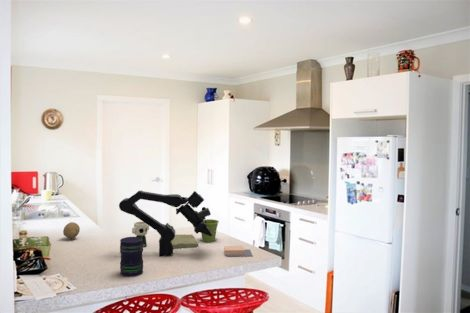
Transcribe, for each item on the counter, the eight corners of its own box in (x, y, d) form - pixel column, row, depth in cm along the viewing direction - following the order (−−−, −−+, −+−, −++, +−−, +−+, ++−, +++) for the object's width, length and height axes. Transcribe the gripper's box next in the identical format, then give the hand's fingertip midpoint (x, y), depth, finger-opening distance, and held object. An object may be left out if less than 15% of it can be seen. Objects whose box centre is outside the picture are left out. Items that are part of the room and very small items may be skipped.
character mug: (136, 249, 211) (136, 225, 211) (128, 247, 216) (128, 223, 215) (152, 245, 219) (152, 222, 219) (145, 243, 224) (145, 220, 223)
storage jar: (120, 277, 169) (119, 243, 168) (120, 270, 178) (119, 237, 178) (144, 275, 172) (144, 241, 171) (142, 268, 181) (142, 236, 180)
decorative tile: (192, 239, 236) (193, 233, 236) (198, 248, 216) (198, 242, 216) (161, 241, 231) (161, 235, 231) (164, 250, 211) (164, 244, 211)
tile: (225, 250, 201) (244, 250, 202) (224, 246, 209) (243, 245, 210) (225, 255, 201) (244, 254, 202) (224, 250, 209) (243, 250, 210)
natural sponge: (79, 240, 228) (79, 223, 228) (62, 242, 225) (62, 224, 224) (79, 237, 237) (79, 220, 236) (63, 238, 233) (63, 221, 233)
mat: (227, 256, 200) (227, 256, 200) (225, 250, 210) (225, 249, 210) (252, 256, 201) (252, 255, 201) (250, 250, 212) (250, 249, 212)
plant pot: (194, 240, 231) (194, 221, 231) (210, 237, 239) (210, 218, 238) (206, 244, 222) (206, 224, 222) (222, 241, 230) (223, 221, 230)
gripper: (201, 206, 193) (223, 228, 195) (201, 200, 212) (221, 220, 213) (184, 222, 193) (207, 244, 195) (186, 214, 212) (206, 235, 213)
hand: (211, 235), depth 204 cm, fingers closed
